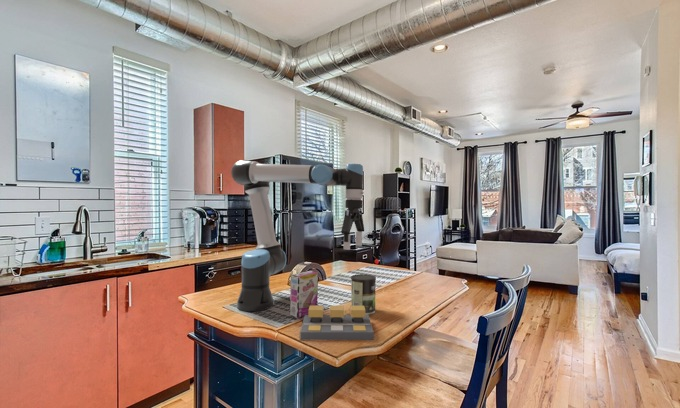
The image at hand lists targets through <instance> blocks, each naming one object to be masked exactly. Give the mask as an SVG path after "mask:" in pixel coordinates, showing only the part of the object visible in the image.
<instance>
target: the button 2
mask: <svg viewBox="0 0 680 408" xmlns="http://www.w3.org/2000/svg"><path fill="white" fill-rule="evenodd" d="M329 315H330V317H333V322H341V317H344V315H345V305H330V306H329Z"/></svg>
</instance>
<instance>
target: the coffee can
mask: <svg viewBox="0 0 680 408" xmlns="http://www.w3.org/2000/svg"><path fill="white" fill-rule="evenodd" d="M376 279H377V276H375V275H371V274H365V273H363V274H353V275H352V276H350V284H351V286H350V287H351V289H350V294H351V295H350V298H351V299H350V301H351V302H350V303H351V305H350V307H351V306H364V307H365V315H369V316H370V315H373V314H375V313H376Z"/></svg>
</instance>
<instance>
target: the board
mask: <svg viewBox="0 0 680 408" xmlns="http://www.w3.org/2000/svg"><path fill="white" fill-rule="evenodd" d="M374 332H375V330H374V328H373V325H372V322H371V319H370V315H365V317H362V322H354V321H353V317H351V314H344V317H341V322H333V317H330V314H323V317H320V322H312V317H308V315H305V316H304V317H303V320H302V324H301V328H300V333H299V338H300V339H299V340H300V341H374V339H375V337H374V336H375V333H374Z"/></svg>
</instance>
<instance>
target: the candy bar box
mask: <svg viewBox="0 0 680 408" xmlns="http://www.w3.org/2000/svg"><path fill="white" fill-rule="evenodd" d="M318 285H319V272H318V271H312V270H308V271H303V272H298V273H293V274H291V275H290V293H289V294H290V295H289V297H290V298H289V300H290V301H289V303H290V304H289V317H292V318H294V319H300V318H304V316H305V315H308V314H309V306H310V305H318V296H319V295H318V294H319V293H318V291H319V286H318Z"/></svg>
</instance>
